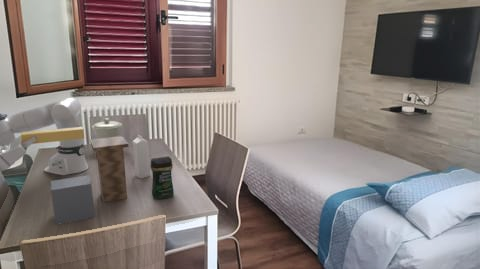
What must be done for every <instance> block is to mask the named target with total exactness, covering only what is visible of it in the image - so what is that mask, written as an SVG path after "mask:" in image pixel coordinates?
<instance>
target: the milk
mask: <svg viewBox="0 0 480 269" xmlns="http://www.w3.org/2000/svg"><path fill="white" fill-rule="evenodd" d="M132 148H133V150H132V151H133V162H134V163H133V164H134V174H135V177H137V178H138V179H143V178H147V177H150V176H151V164H150V155H149V154H150V152H149V141H147V140H146V139H144V138H143V136H142V135H140V134H137V137H136V138H135V139H134V140H132Z"/></svg>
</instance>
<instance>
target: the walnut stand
mask: <svg viewBox="0 0 480 269" xmlns="http://www.w3.org/2000/svg"><path fill="white" fill-rule="evenodd" d="M89 142H90V146H91V148H92V151H93V152H96V158H97V168H98V177H99V187H100V195H101V197H102V201H103V203H109V202H113V201H117V200H124V199H128V190H127V178H126V167H125V166H126V165H125V155H124V149H125V148H129V147H130V146H129V143H128V141H127V140H126V139H125V137H124V136H123V135H121V136H118V137H109V138H101V139H96V138H94V139H93V138H92V139H89Z"/></svg>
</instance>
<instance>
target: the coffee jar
mask: <svg viewBox="0 0 480 269" xmlns="http://www.w3.org/2000/svg"><path fill="white" fill-rule="evenodd" d="M173 167H174V165H173V160H172V158H171V157H170V156H169V155H168V156H161V157H154V158H151V159H150V171H152V184H151V196H152V198H154V199H156V200H163V199H167V198H171V197H173V196H174V193H175V192H174V184H173V178H172V170H173Z"/></svg>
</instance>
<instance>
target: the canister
mask: <svg viewBox="0 0 480 269" xmlns="http://www.w3.org/2000/svg"><path fill="white" fill-rule="evenodd" d="M122 126H123V123H121V122H119V121H114V120H110V119H109V118H108V117H106V118H103V121H100V122H99V121H98V122H96V123H94V124H93V125H92V126H91V128H92V129H93V133H94V139H101V138H109V137H118V136H122Z"/></svg>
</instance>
